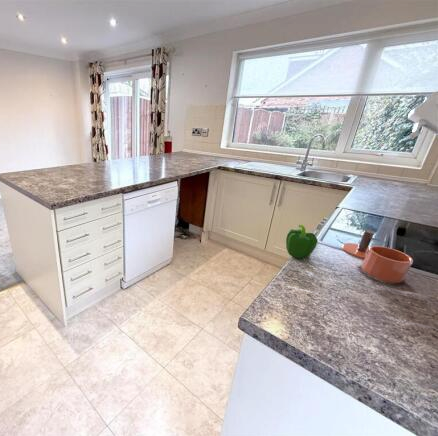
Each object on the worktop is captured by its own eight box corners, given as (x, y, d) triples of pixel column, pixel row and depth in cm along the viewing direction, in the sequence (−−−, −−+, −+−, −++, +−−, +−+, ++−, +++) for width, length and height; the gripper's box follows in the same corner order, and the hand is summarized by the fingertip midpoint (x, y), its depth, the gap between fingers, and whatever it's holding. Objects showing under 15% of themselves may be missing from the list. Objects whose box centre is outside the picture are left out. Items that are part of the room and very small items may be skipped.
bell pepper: (314, 264, 76) (324, 235, 72) (284, 258, 79) (293, 230, 75) (308, 251, 84) (317, 224, 80) (281, 246, 86) (288, 220, 82)
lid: (371, 249, 86) (380, 228, 83) (386, 264, 77) (397, 241, 74) (337, 243, 89) (345, 223, 86) (348, 257, 80) (357, 235, 77)
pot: (391, 269, 75) (401, 249, 72) (409, 287, 67) (421, 265, 64) (355, 262, 78) (363, 243, 75) (368, 279, 70) (378, 258, 67)
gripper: (444, 81, 66) (397, 120, 69) (534, 124, 58) (476, 166, 61) (430, 94, 72) (387, 130, 75) (511, 135, 64) (458, 174, 67)
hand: (427, 147), depth 68 cm, fingers open, 8 cm apart
